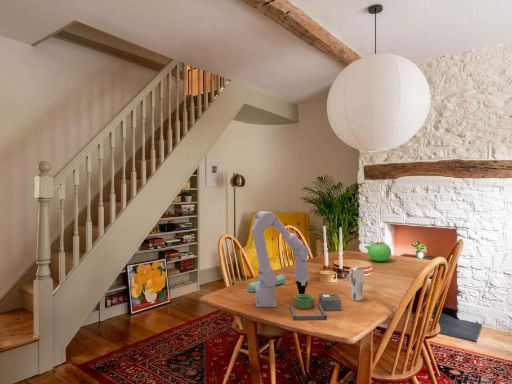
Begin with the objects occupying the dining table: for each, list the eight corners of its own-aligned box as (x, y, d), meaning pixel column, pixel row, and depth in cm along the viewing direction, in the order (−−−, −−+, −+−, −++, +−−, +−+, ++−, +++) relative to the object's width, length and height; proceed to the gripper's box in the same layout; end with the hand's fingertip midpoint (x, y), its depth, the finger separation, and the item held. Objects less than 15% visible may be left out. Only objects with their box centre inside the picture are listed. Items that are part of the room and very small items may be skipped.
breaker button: (323, 302, 154) (323, 296, 154) (322, 300, 157) (322, 294, 157) (330, 302, 154) (330, 296, 154) (328, 300, 157) (328, 294, 157)
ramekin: (316, 304, 159) (316, 295, 159) (311, 310, 151) (311, 301, 151) (297, 302, 163) (297, 293, 163) (292, 308, 155) (292, 298, 154)
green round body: (388, 264, 238) (388, 243, 238) (364, 262, 246) (363, 242, 246) (393, 259, 253) (392, 240, 253) (369, 257, 262) (369, 238, 262)
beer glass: (361, 296, 169) (361, 266, 169) (366, 301, 162) (366, 269, 162) (347, 296, 169) (347, 266, 169) (352, 301, 162) (351, 270, 162)
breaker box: (323, 310, 151) (322, 299, 151) (319, 302, 161) (318, 292, 161) (341, 310, 151) (340, 298, 151) (335, 302, 161) (335, 291, 161)
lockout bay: (293, 320, 140) (293, 316, 140) (289, 308, 154) (289, 304, 154) (326, 319, 140) (326, 315, 140) (320, 307, 154) (320, 304, 154)
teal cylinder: (250, 282, 178) (284, 272, 194) (244, 284, 182) (277, 275, 198) (253, 293, 176) (287, 283, 192) (247, 295, 180) (280, 285, 196)
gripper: (311, 272, 159) (312, 301, 159) (307, 265, 173) (307, 291, 174) (296, 272, 159) (297, 301, 159) (293, 265, 174) (293, 291, 174)
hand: (301, 296), depth 166 cm, fingers closed
